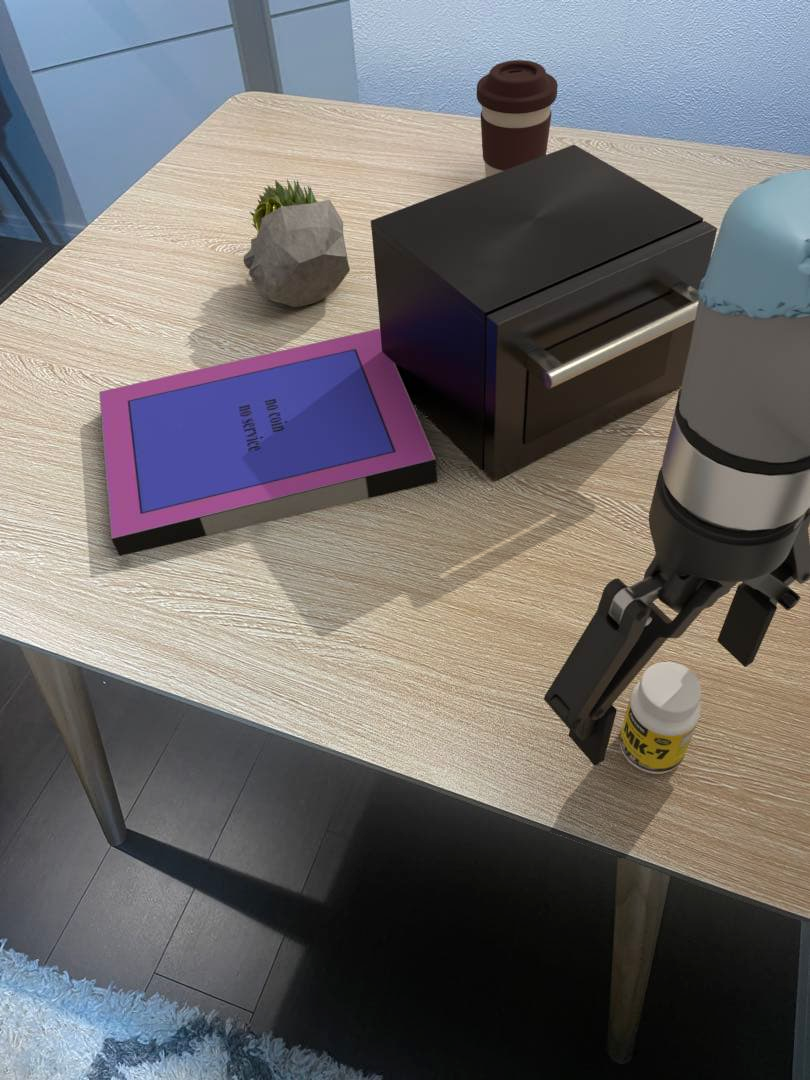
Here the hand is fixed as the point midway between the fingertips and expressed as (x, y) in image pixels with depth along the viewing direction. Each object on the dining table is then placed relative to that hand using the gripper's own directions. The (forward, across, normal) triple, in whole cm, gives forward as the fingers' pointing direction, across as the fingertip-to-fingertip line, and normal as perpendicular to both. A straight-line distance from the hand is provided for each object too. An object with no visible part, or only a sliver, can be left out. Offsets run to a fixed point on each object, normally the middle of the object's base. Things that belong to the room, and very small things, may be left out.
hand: (662, 698), depth 63 cm
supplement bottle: (+7, 0, 0) cm, 7 cm away
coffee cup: (+7, -42, -72) cm, 84 cm away
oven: (+7, -19, -39) cm, 44 cm away
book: (+7, +9, -46) cm, 48 cm away
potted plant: (+8, -7, -69) cm, 70 cm away
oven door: (+7, -19, -27) cm, 34 cm away
